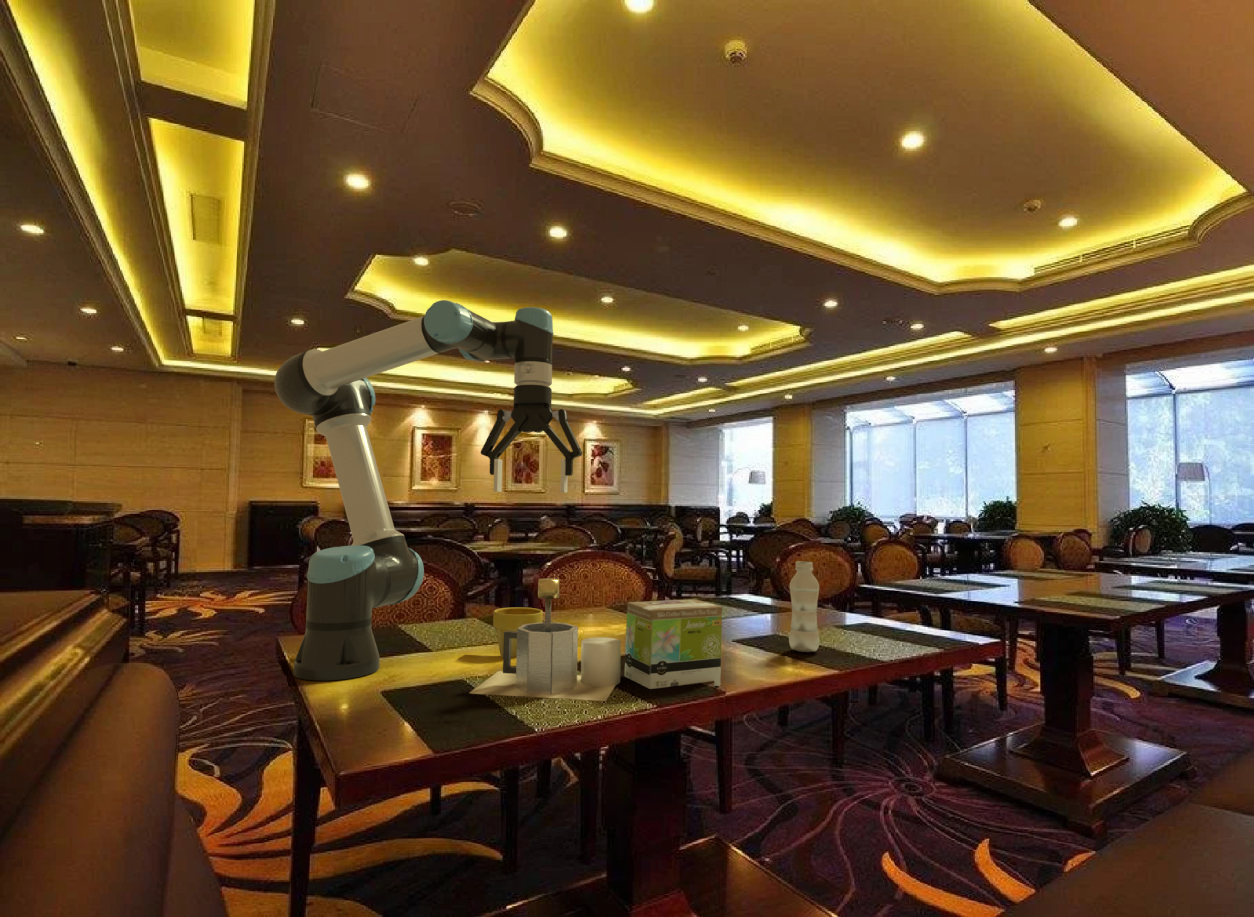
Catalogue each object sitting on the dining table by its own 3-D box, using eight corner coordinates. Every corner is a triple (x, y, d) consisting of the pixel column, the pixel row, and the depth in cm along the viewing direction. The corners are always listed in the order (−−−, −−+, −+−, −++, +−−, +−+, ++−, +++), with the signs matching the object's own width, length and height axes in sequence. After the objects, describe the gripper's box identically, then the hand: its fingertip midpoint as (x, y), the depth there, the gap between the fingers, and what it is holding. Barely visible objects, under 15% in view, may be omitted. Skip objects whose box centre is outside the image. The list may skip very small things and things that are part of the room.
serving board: (468, 700, 113) (468, 693, 113) (498, 677, 128) (498, 670, 128) (605, 708, 110) (605, 700, 110) (620, 683, 124) (620, 677, 124)
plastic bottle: (795, 647, 158) (795, 560, 159) (824, 651, 154) (823, 562, 155) (784, 652, 153) (784, 562, 154) (813, 656, 149) (813, 564, 150)
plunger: (521, 670, 115) (523, 581, 116) (533, 661, 122) (534, 576, 123) (562, 672, 114) (563, 582, 115) (571, 662, 121) (572, 578, 122)
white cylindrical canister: (576, 685, 118) (577, 644, 119) (585, 675, 125) (585, 636, 126) (616, 687, 117) (617, 646, 118) (622, 677, 124) (623, 638, 125)
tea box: (650, 697, 117) (651, 609, 117) (623, 682, 125) (624, 601, 126) (722, 687, 123) (723, 604, 124) (692, 674, 132) (693, 597, 133)
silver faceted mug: (494, 691, 114) (495, 631, 115) (512, 676, 124) (513, 620, 124) (567, 695, 112) (569, 634, 113) (580, 680, 122) (581, 623, 122)
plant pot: (546, 652, 149) (547, 607, 149) (535, 664, 138) (536, 615, 139) (500, 651, 150) (501, 606, 150) (485, 662, 140) (487, 613, 140)
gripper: (466, 383, 135) (463, 491, 134) (590, 382, 131) (588, 492, 130) (479, 389, 142) (477, 491, 141) (597, 388, 139) (595, 493, 138)
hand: (530, 492), depth 136 cm, fingers open, 13 cm apart
